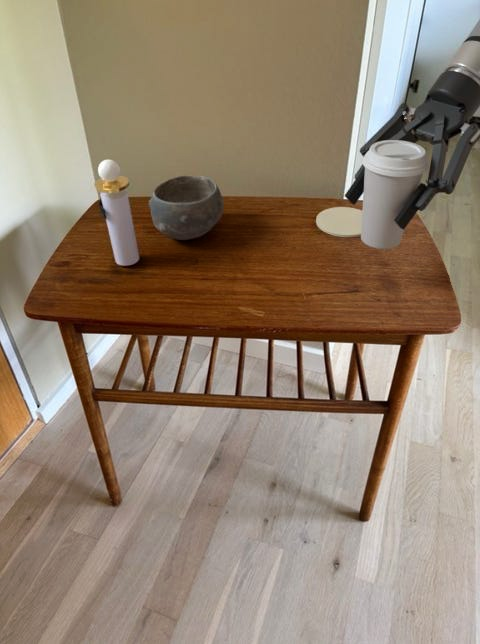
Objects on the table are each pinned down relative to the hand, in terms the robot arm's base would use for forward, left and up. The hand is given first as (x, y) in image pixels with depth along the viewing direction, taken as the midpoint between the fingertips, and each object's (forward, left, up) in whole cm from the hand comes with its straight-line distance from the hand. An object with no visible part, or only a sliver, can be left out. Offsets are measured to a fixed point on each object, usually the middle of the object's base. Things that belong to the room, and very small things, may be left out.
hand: (373, 212), depth 75 cm
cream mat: (+16, -16, -14) cm, 27 cm away
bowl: (+36, +10, -15) cm, 40 cm away
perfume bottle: (+36, +25, -15) cm, 46 cm away
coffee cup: (0, -3, -6) cm, 7 cm away
